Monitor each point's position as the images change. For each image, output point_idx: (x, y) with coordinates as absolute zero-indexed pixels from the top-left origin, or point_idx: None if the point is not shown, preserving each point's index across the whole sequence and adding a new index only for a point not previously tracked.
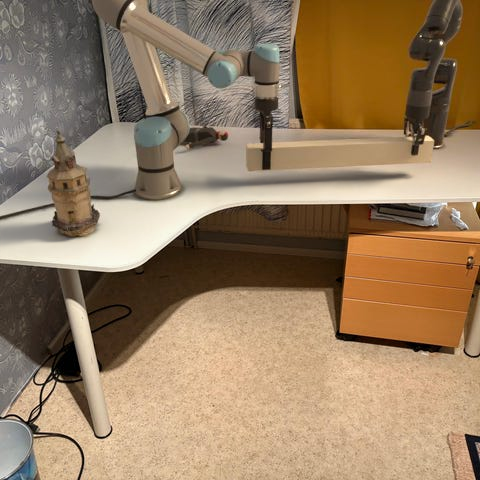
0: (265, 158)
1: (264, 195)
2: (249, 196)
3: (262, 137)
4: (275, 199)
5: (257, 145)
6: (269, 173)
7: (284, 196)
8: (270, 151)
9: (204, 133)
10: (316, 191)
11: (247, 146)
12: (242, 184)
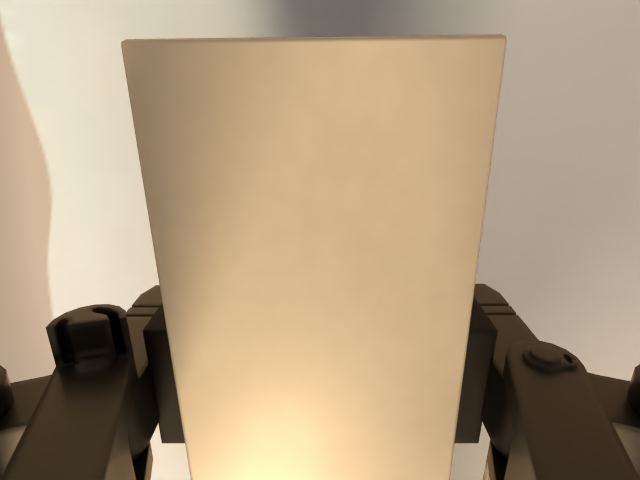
0: (135, 309)
1: (111, 176)
2: (86, 61)
3: (523, 475)
4: (52, 239)
5: (333, 283)
6: (492, 256)
7: (103, 297)
8: (162, 428)
9: None
10: (180, 459)
11: (292, 49)
12: (320, 24)
